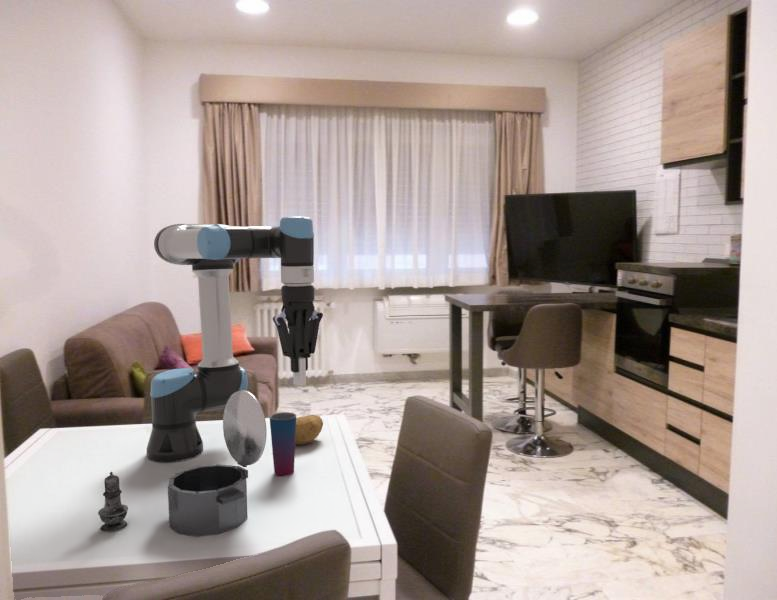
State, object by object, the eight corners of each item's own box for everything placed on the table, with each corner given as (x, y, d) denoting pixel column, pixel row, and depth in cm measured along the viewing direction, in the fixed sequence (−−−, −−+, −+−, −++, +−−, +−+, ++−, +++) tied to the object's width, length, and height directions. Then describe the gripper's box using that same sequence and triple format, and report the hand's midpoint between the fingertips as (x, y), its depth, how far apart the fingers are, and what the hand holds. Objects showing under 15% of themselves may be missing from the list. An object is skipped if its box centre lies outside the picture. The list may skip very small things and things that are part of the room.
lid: (224, 385, 144) (234, 384, 146) (221, 456, 144) (231, 454, 146) (265, 397, 132) (275, 396, 134) (261, 475, 133) (271, 473, 135)
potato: (332, 439, 186) (331, 413, 185) (298, 452, 175) (298, 425, 174) (309, 433, 192) (308, 408, 191) (275, 445, 181) (274, 419, 180)
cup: (292, 478, 156) (290, 420, 155) (266, 476, 157) (265, 419, 156) (301, 468, 163) (300, 412, 161) (276, 466, 164) (275, 411, 162)
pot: (152, 515, 135) (150, 475, 134) (220, 492, 147) (219, 456, 146) (198, 547, 121) (196, 503, 120) (269, 519, 133) (268, 479, 132)
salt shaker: (104, 520, 133) (102, 466, 132) (133, 519, 133) (130, 465, 132) (94, 533, 127) (91, 477, 126) (123, 532, 128) (121, 476, 126)
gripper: (283, 287, 134) (286, 393, 137) (330, 283, 144) (331, 383, 146) (264, 285, 140) (266, 387, 142) (310, 282, 149) (312, 378, 151)
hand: (299, 385), depth 144 cm, fingers closed
